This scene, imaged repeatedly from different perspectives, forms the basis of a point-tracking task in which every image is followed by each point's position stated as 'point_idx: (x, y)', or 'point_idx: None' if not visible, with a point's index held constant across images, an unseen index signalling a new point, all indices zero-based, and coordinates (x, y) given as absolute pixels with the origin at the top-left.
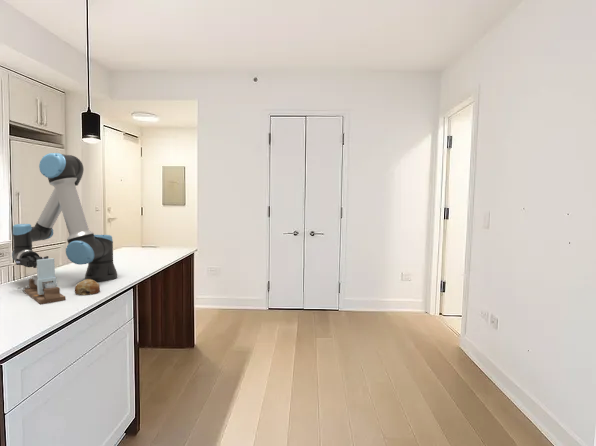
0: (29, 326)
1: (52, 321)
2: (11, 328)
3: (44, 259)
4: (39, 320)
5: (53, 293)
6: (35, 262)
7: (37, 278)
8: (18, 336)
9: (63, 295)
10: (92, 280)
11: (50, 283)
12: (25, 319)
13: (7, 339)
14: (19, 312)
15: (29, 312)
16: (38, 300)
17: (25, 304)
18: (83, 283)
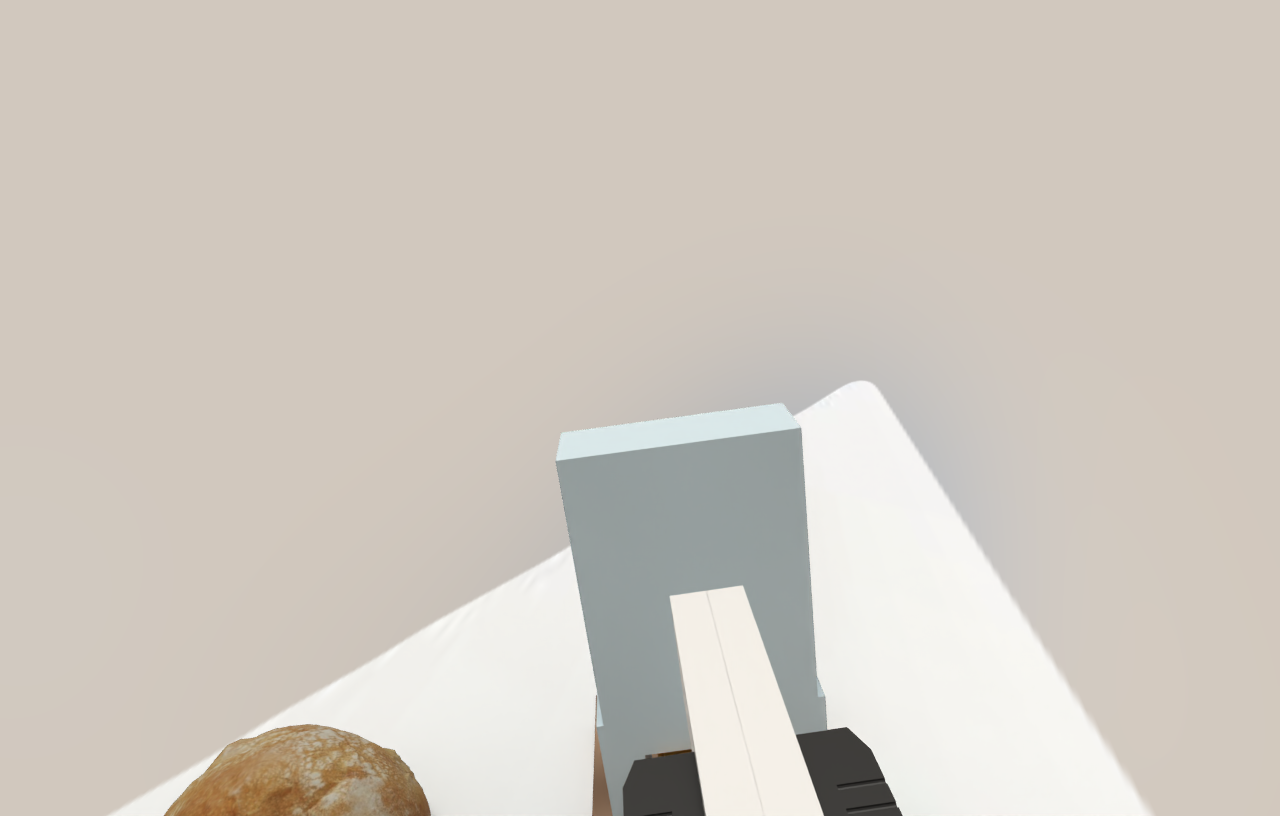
0: (829, 448)
1: None
2: (894, 449)
3: (690, 424)
4: None
5: None
6: (868, 795)
7: (817, 694)
8: (852, 409)
9: (595, 737)
10: (220, 763)
11: None
12: (858, 500)
13: (881, 403)
14: (921, 591)
15: (857, 572)
16: None
17: (934, 760)
18: (348, 740)
